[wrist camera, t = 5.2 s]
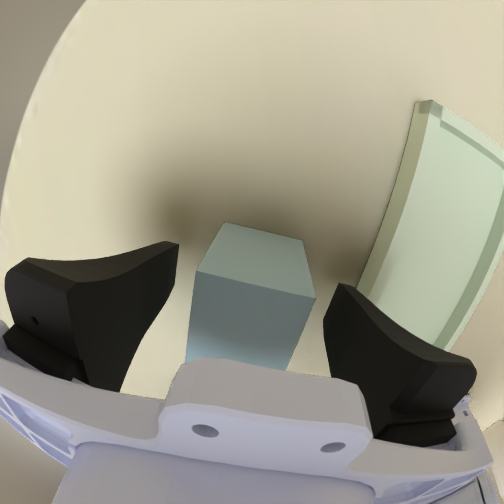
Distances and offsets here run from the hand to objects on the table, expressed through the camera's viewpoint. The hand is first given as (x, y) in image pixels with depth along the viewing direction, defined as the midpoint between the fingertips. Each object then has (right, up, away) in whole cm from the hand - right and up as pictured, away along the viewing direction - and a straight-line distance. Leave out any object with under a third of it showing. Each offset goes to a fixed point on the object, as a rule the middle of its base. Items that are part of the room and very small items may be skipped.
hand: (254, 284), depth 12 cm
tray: (+11, +1, +1) cm, 11 cm away
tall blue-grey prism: (-1, -2, +4) cm, 4 cm away
